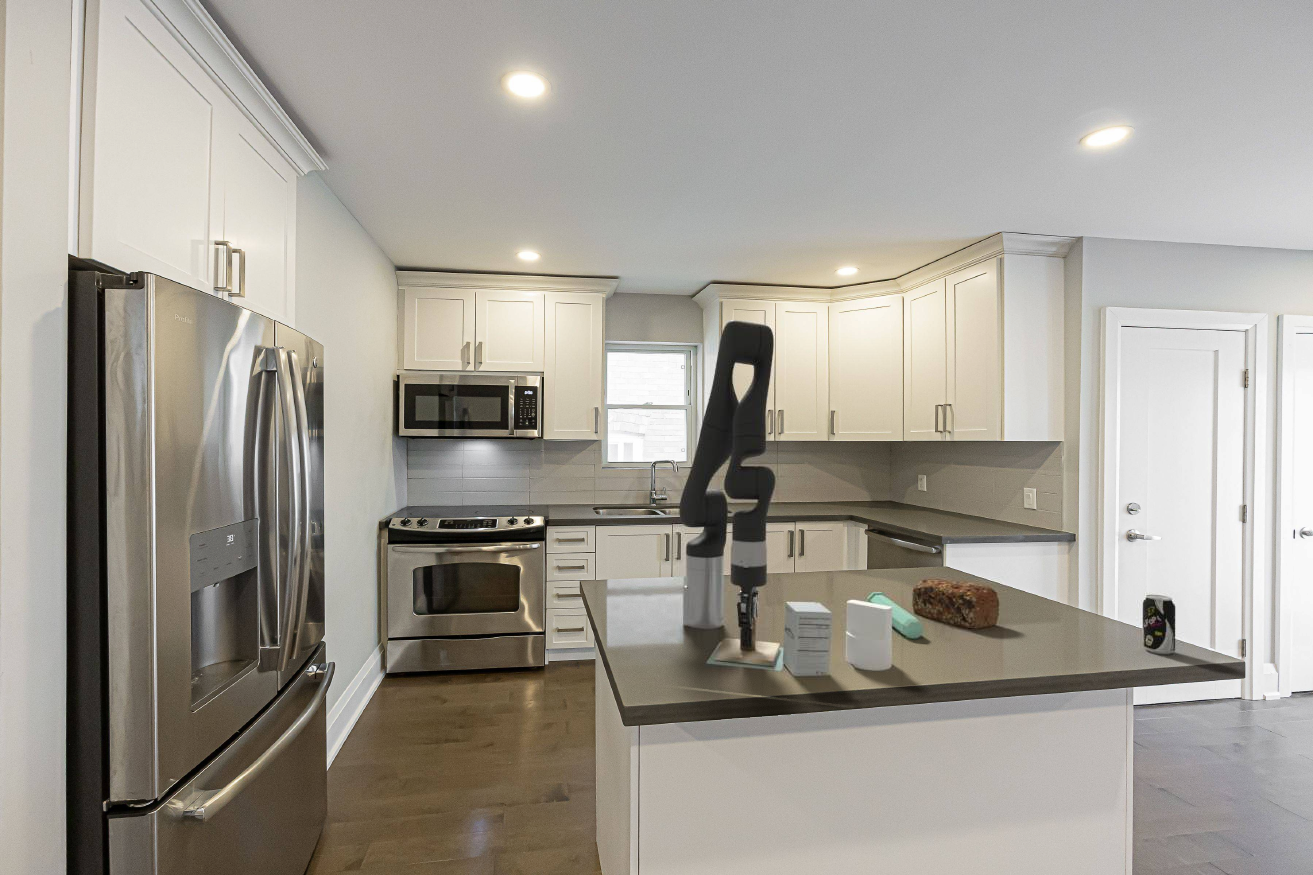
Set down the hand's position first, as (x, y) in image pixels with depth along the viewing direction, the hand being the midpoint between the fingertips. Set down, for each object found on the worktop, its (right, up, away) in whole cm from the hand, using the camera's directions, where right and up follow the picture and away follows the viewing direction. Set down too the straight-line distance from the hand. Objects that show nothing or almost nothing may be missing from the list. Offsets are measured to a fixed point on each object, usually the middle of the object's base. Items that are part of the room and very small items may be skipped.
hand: (747, 643), depth 141 cm
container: (+40, -4, +26) cm, 48 cm away
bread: (+57, -4, +32) cm, 65 cm away
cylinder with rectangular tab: (+24, -3, -3) cm, 25 cm away
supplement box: (+10, -3, -8) cm, 13 cm away
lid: (0, -2, 0) cm, 2 cm away
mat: (0, -3, 0) cm, 3 cm away
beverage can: (+90, -4, +6) cm, 91 cm away
